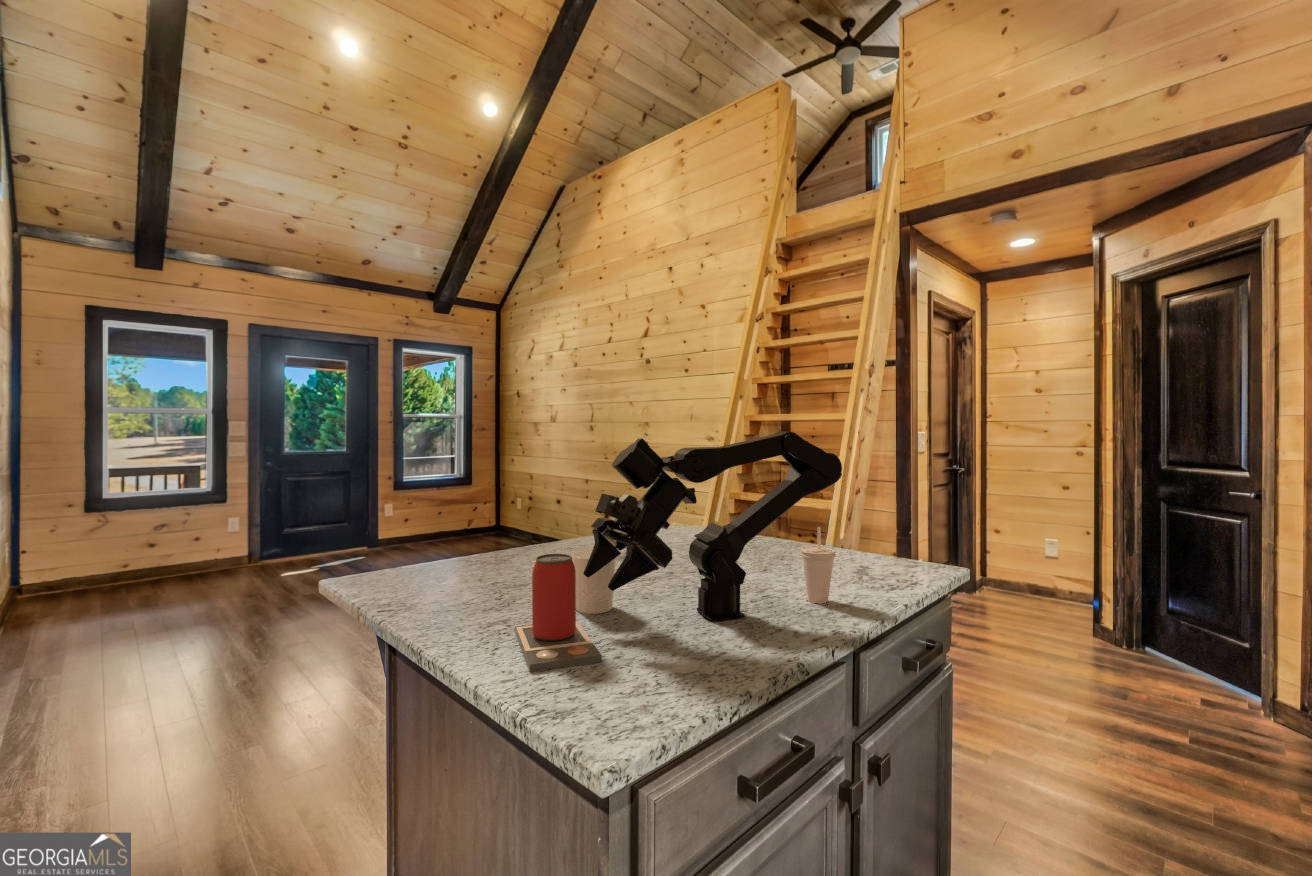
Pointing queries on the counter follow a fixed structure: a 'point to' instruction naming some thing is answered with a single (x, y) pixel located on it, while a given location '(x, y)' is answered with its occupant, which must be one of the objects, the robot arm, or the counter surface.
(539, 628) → the beer can
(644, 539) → the robot arm
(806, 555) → the smoothie
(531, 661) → the slate card
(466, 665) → the counter surface
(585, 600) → the white cup
